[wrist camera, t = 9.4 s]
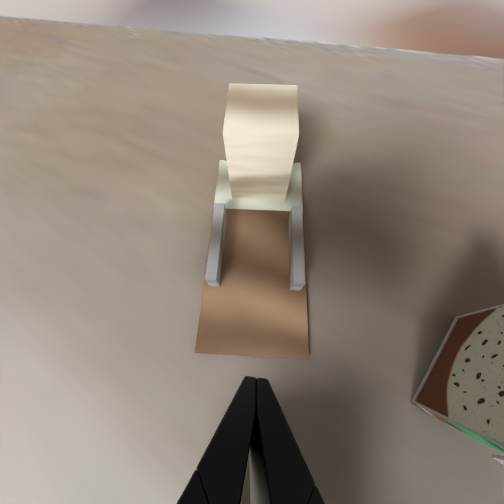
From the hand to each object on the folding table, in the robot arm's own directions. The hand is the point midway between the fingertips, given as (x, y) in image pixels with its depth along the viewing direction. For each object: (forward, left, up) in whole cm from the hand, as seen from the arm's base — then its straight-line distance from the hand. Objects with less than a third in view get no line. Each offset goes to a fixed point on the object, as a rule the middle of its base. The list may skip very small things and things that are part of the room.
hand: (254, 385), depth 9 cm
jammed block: (+16, +12, -13) cm, 24 cm away
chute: (+10, +7, -14) cm, 18 cm away
